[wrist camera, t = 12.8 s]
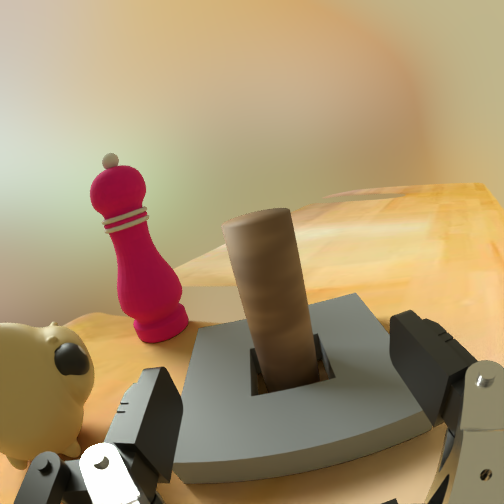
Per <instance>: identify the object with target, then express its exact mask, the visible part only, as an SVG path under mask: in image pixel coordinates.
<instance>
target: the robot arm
mask: <svg viewBox="0 0 504 504" xmlns="http://www.w3.org/2000/svg"><path fill="white" fill-rule="evenodd" d="M389 354H390V359H391V362H392V364H393V366H394V368H395V369H396V371H397V372H398V374H399V375H400V377H401V378H402V380H403V381H404V383H405V384H406V386H407V387H408V389H409V390H410V392H411V393H412V395H413V396H414V398H415V399H416V401H417V402H418V404H419V405H420V407H421V408H422V410H423V411H424V413H425V414H426V416H427V418H428V419H429V421H430V422H431V424H432V425H433V427H435V426H437V425H439V424H441V423H443V422H445V423H446V425H447V426H448V428H447V430H446V434H445V439H444V444H443V448H442V452H441V457H440V461H439V464H438V468H437V472H436V475H435V478H434V481H433V483H432V485H431V488H430V490H429V492H428V495H427V497H426V500H425V502H424V504H504V368H503V367H502V366H501V365H500V364H498V363H496V362H493V361H488V360H484V361H477V360H476V359H475V358H474V357H473V356H472V355H471V354H470V353H469V352H468V351H467V350H466V349H465V348H464V347H463V346H462V345H461V344H460V343H459V342H458V341H457V340H455V339H453V337H452V336H451V335H450V334H449V333H447V332H446V330H445V329H444V328H443V327H442V326H440V325H439V324H438V323H436V322H434V321H431V320H429V319H423V320H422V319H421V318H420V317H419V316H418V315H417V314H416V313H415V312H413V311H412V310H408V311H405V312H402V313H400V314H397V315H394V316H392V317H391V318H390V344H389ZM120 403H121V405H119V407H118V409H117V413H116V414H115V416H114V418H113V421H112V423H111V425H110V428H109V430H108V433H107V435H106V437H105V440H104V442H103V443H101V444H96V445H94V446H92V447H90V448H89V449H87V450H86V451H85V452H84V454H83V455H82V457H81V459H78V460H71V461H63V460H62V459H61V458H60V457H59V456H58V455H57V454H56V453H54V452H51V451H47V452H43V453H40V454H39V455H37V456H36V457H35V458H34V459H33V461H32V463H31V465H30V467H29V469H28V471H27V473H26V475H25V478H24V480H23V482H22V484H21V487H20V489H19V491H18V494H17V496H16V499H15V501H14V504H60V503H61V502H62V503H64V504H166V503H165V502H164V500H163V499H162V497H161V496H160V494H159V493H158V492H157V491H156V487H157V483H170V479H171V473H172V468H173V462H174V457H175V452H176V447H177V441H178V436H179V431H180V426H181V421H182V416H183V402H182V399H181V396H180V394H179V392H178V390H177V388H176V386H175V384H174V383H173V381H172V379H171V377H170V375H169V372H168V371H167V369H166V368H165V367H156V368H147V369H144V370H143V371H142V373H141V375H140V378H139V380H138V382H137V383H133V385H132V386H131V387H130V388H129V389H128V390H127V391H126V392H125V394H124V396H123V398H122V400H121V402H120ZM382 504H398V503H397V500H396V498H395V499H392V500H390V501H387V502H385V503H382Z"/></svg>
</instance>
